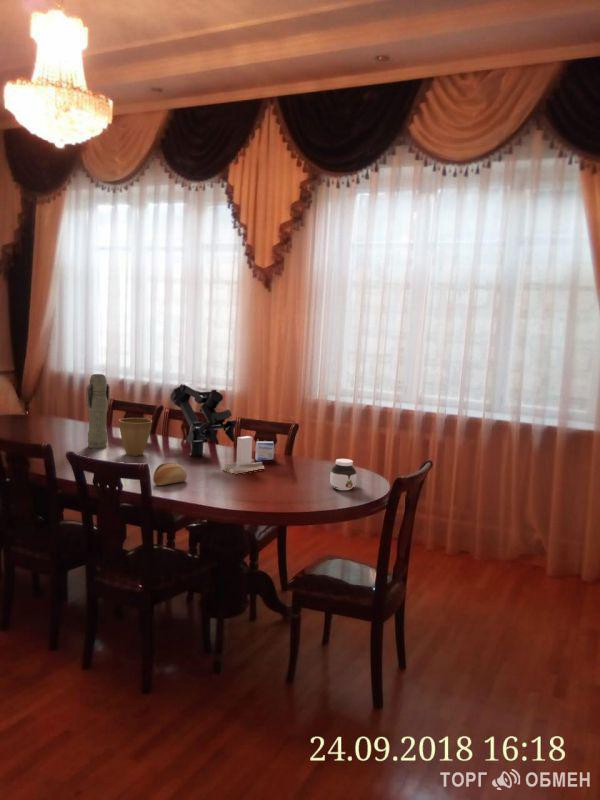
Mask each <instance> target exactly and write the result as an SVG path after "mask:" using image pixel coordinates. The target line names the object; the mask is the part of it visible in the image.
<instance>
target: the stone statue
mask: <svg viewBox="0 0 600 800" xmlns="http://www.w3.org/2000/svg"><path fill="white" fill-rule="evenodd" d="M110 387H111V386H110V384H108V383H107V378H106V375H104V374H102V373H101V374H100V373H95V374H94V373H93V374H92V375H91V377H90V378H89V384H88V385H87V386H86V389H85V391H86V392H85V393H86V396H85V397H86V398H85V400H86V401H85V405H86V406H87V411H88V432H87V444H88V445H87V448H88V447H89V449H91V448H94V449H93V450H96V449H97V450H101V448H103V449H106V448H108V445H107V444H108V431H107V412H108V407H109V405H110V390H111V389H110Z"/></svg>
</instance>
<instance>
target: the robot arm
mask: <svg viewBox="0 0 600 800" xmlns="http://www.w3.org/2000/svg"><path fill="white" fill-rule="evenodd" d="M191 397H192V398H194V401H195V402H196V403H197V405H200V404H202V405H201V406H200V409H199V412H200V413H203V415H204V417H205V419H204V420H205V422H204V421H199V418H198V416H197V415H196V413H195V411H194V409H193V407H192V406H191V404H190V399H191ZM170 400H171V401H172V403H173V405H175V406H176V407H178V408H180V410H181V412H182V414H183V416H184V418H185V420H186V422H187V424H188V425H189V427H190V428H189V433H188V435H187V436H186V442H187V443H188V444H190V453H189V454H188V456H189V457H204V456H205V454H206V453H205V452H204V443H208V442H209V440H210V441H211V442H212V443H214V444H215V445H219V444H220V443H219V439H218V438H217V435H216V433H215V431H217V430H221V429H223V431H224V434H225V435H226V436H227V437H228V438H229V440H230V441H231V442H232V443H235V433H234V431H235V428H236V427H237V425H238V423H237V421H236V420H235V419H230V417H232V412H231V411H230V409H225V410H224V411H217V408H218V407H219V405H220V404H221V402H222V401H223V400H224V397H223V394H222V393H221V392H219V391H217V389H211V390H204V389H200V388H198V387H197V386H195V385H193V384H192V383H188V382H187V383H181V384H180V385H179V386H178V387H176V388H174V389H173V391H171V394H170ZM227 419H228V420H227ZM229 419H230V420H229ZM226 420H227V421H226Z"/></svg>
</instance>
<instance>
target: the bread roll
mask: <svg viewBox="0 0 600 800" xmlns="http://www.w3.org/2000/svg"><path fill="white" fill-rule="evenodd" d="M187 477H188V474H187V472H186V470H185V468H184V467H183V466H182V465H180V464H178V463H175V462H165V463H164V462H163V463H162V464H159V465H158V466H157V467H156V469H155V471H154V473H153V477H152V478H153V479H152V480H153V484H154V485H156V486H164V485H171V484H176V483H177V484H178V483H184V482H185V481H186V480H187Z"/></svg>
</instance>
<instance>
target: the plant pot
mask: <svg viewBox="0 0 600 800" xmlns="http://www.w3.org/2000/svg"><path fill="white" fill-rule="evenodd" d="M118 424H119V425H118V426H119V431H120V437H121V441H122V445H123V448H124V452H125V454H126V455H127V456H131V455H132V457H133V456H135V457H136V456H138V455H139V456H143V454H144V452H145V450H146V448H147V445H148V441H149V438H150V435H151V434H150V433H151V430H152V424H153V420H152V419H149V418H144V417H127V418H125V417H124V418H121V419H118Z"/></svg>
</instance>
